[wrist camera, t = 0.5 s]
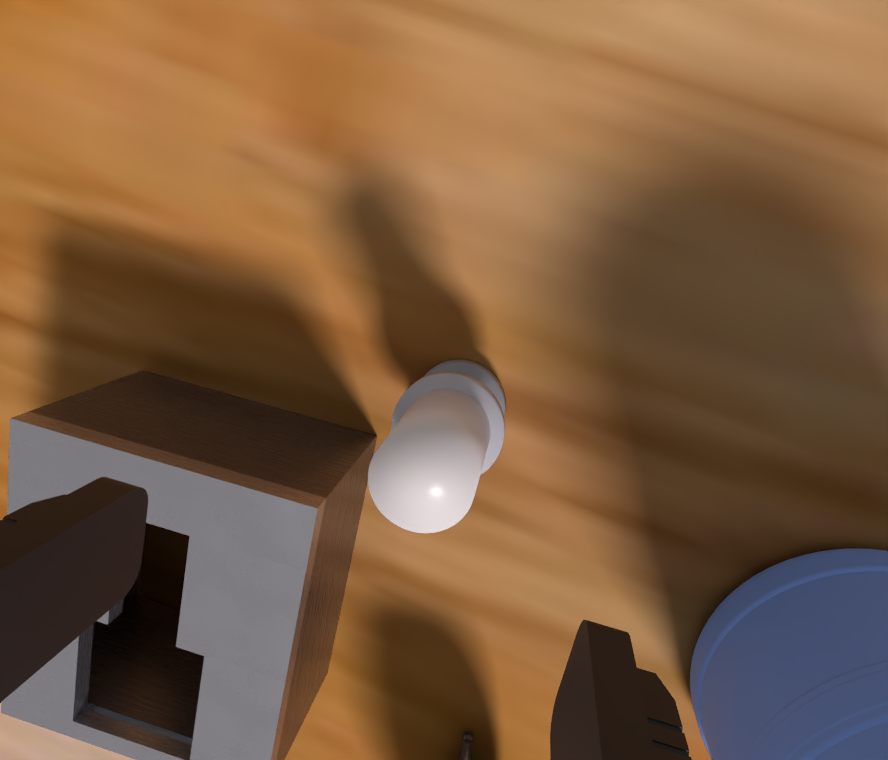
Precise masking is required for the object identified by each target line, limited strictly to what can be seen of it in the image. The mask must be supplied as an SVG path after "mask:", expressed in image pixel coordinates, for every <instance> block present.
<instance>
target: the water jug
mask: <svg viewBox="0 0 888 760" xmlns="http://www.w3.org/2000/svg"><path fill="white" fill-rule="evenodd" d="M690 692H691V699H692V704H693V709H694V712H695V716H696V719H697V723H698V726H699V729H700V733H701V736H702V739H703V741H704V744H705V746H706V748H707V750H708V752H709V754H710V756H711V759H712V760H888V551H886V550H877V549H862V548H849V549H834V550H826V551H820V552H814V553H810V554H805V555H802V556H798V557H795V558H792V559H789V560H786V561H783V562H781V563H778V564H776V565H774V566H771V567H769V568H767V569H765V570H763V571H761V572H760V573H758V574H756V575H755V576H753V577H751V578H750V579H748V580H747V581H745V582H744V583H743V584H741V585H740V586H739V587H737V588H736V589H735V590H734V591H733V592H732V593H730V594H729V595H728V596H727V597H726V598H725V599H724V600H723V601H722V603H721V604H720V605H719V606H718V607H717V608H716V610H715V611H714V612H713V614H712V615H711V616H710V618H709V619H708V621H707V623H706V624H705V626H704V628H703V630H702V632H701V634H700V636H699V638H698V641H697V644H696V646H695V650H694V653H693V657H692V663H691V670H690Z"/></svg>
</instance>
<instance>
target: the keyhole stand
mask: <svg viewBox="0 0 888 760" xmlns="http://www.w3.org/2000/svg"><path fill="white" fill-rule="evenodd" d="M376 438H377V436H376V435H372V434H369V433H365V432H361V431H358V430H354V429H351V428H347V427H343V426H340V425H336V424H333V423H329V422H325V421H322V420H318V419H315V418H311V417H307V416H304V415H300V414H297V413H293V412H289V411H286V410H282V409H279V408H275V407H271V406H268V405H264V404H261V403H257V402H253V401H250V400H246V399H243V398H239V397H235V396H232V395H228V394H225V393H221V392H217V391H214V390H210V389H207V388H203V387H199V386H196V385H192V384H189V383H185V382H181V381H178V380H174V379H171V378H167V377H163V376H160V375H156V374H153V373H149V372H145V371H140V372H137V373H134V374H132V375H129V376H126V377H123V378H121V379H118V380H115V381H112V382H109V383H107V384H104V385H101V386H98V387H96V388H93V389H90V390H87V391H85V392H82V393H79V394H76V395H74V396H71V397H68V398H65V399H62V400H60V401H57V402H54V403H51V404H49V405H46V406H43V407H40V408H38V409H35V410H32V411H29V412H26V413H24V414H21V415H18V416H15V417H13V418H10V442H9V475H8V508H7V515H8V514H10V513H12V512H14V511H16V510H18V509H20V508H22V507H24V506H26V505H28V504H30V503H33V502H37V501H41V500H44V499H48V498H52V497H56V496H60V495H64V494H65V495H68V494H70V493H71V492H73V491H75V490H77V489H79V488H81V487H83V486H85V485H86V484H88V483H90V482H92V481H94V480H96V479H98V478H100V477H108V478H111V479H114V480H118V481H121V482H125V483H128V484H131V485H135V486H138V487H141V488H144V489H145V490H146V492H147V494H148V509H147V517H146V526H147V523H149V524H152V525H155V526H158V527H162V528H165V529H168V530H172V531H175V532H178V533H181V534H185V535H188V536H189V545H188V553H187V561H186V569H185V577H184V585H183V593H182V601H181V609H179V608H176V607H172V606H169V605H166V604H163V603H160V602H157V601H154V600H150V599H147V598H144V597H141V596H139V595H140V585H141V575H142V566H143V556H144V546H145V536H146V526H145V535H144V544H143V552H142V561H141V567H140V571H139V573H138V576H137V578H136V581H135V582H134V584H133V586H132V588H131V589H130V591H129V592H128V593H127V595H126V596H125V597H124V598H123V599H122V600H121V601H119V602H118V603H117V604H116V605H115V606H114V607H112V608H111V609H110V610H109V611H108V612H106V613H105V614H104V615H103V616H102V617H101V618H99V619H98V620H97V621H96V622H95V623H94V624H92V625H91V626H90V627H89V628H88V629H86V630H85V631H84V632H83V633H82V634H81V635H79V636H78V637H77V638H76V639H75V640H74V641H72V642H71V643H70V644H69V645H68V646H66V647H65V648H64V649H63V650H62V651H61V652H59V653H58V654H57V655H56V656H55V657H54V658H52V659H51V660H50V661H49V662H48V663H46V664H45V665H44V666H43V667H42V668H41V669H39V670H38V671H37V672H36V673H35V674H34V675H32V676H31V677H30V678H29V679H28V680H26V681H25V682H24V683H23V684H22V685H21V686H19V687H18V688H17V689H16V690H15V691H14V692H12V693H11V694H10V695H9V696H8V697H6V698H5V699H4V700H3V701H2V705H1V713H3V714H6V715H9V716H12V717H15V718H18V719H20V720H23V721H26V722H29V723H32V724H35V725H38V726H41V727H44V728H46V729H49V730H52V731H55V732H58V733H61V734H64V735H67V736H69V737H72V738H75V739H78V740H81V741H84V742H87V743H90V744H92V745H95V746H98V747H101V748H104V749H107V750H110V751H113V752H116V753H118V754H121V755H124V756H127V757H130V758H133V759H136V760H284V759H285V757H286V755H287V753H288V751H289V749H290V747H291V745H292V743H293V741H294V739H295V737H296V735H297V733H298V731H299V729H300V727H301V725H302V723H303V721H304V719H305V717H306V715H307V713H308V711H309V709H310V707H311V705H312V703H313V701H314V699H315V697H316V695H317V693H318V691H319V689H320V687H321V685H322V683H323V681H324V679H325V677H326V675H327V673H328V668H329V663H330V658H331V653H332V649H333V644H334V639H335V634H336V629H337V625H338V620H339V615H340V610H341V606H342V601H343V596H344V591H345V586H346V582H347V577H348V572H349V567H350V562H351V558H352V553H353V548H354V543H355V538H356V534H357V529H358V524H359V519H360V514H361V510H362V505H363V500H364V495H365V491H366V486H367V481H368V470H369V466H370V462H371V460H372V457H373V452H374V447H375V443H376Z"/></svg>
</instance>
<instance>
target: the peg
mask: <svg viewBox="0 0 888 760" xmlns="http://www.w3.org/2000/svg"><path fill="white" fill-rule="evenodd" d="M505 411H506V398H505V393H504V390H503V388H502V386H501V384H500V382H499V380H498V379H497V378H496V376H495V375H494V374H493V373H492V372H491V371H490V370H488V369H487V368H486V367H484V366H483V365H481V364H479V363H477V362H474V361H470V360H465V359H453V360H448V361H445V362H442V363H440V364H438V365H436V366H434V367H433V368H431V369H430V370H429V371H428V372H427V373H426V374H425V375H424V377H422V378H420V379H419V380H417V381H416V382H415V383H413V384H412V385H411V386H410V387H409V388H408V389H407V391H406V392H405V393H404V394H403V395H402V396H401V398H400V400H399V401H398V403H397V405H396V407H395V410H394V413H393V418H392V431H391V433H390V434H389V435H388V436H387V438H386V439H385V440H384V442H383V443H382V444H381V446H380V447H379V448H378V450H377V451H376V452H375V454H374V456H373V458H372V460H371V462H370V466H369V470H368V486H369V491H370V494H371V497H372V499H373V501H374V503H375V505H376V506H377V508H378V509H379V511H380V512H381V513H382V514H383V515H384V516H385V517H386V518H387V519H388V520H390V521H391V522H392V523H394V524H395V525H397V526H399V527H401V528H403V529H406V530H409V531H413V532H418V533H434V532H439V531H443V530H445V529H448V528H450V527H452V526H453V525H455V524H456V523H458V522H459V521H460V520H461V519H462V518H463V517H464V516H465V515H466V513H467V512H468V510H469V508H470V507H471V505H472V502H473V499H474V495H475V492H476V488H477V485H478V481H479V477H480V475H481V474H483V473H484V472H485V471H486V470H488V469H489V468H490V466H491V465H492V464H493V463H494V462H495V460H496V459H497V457H498V455H499V453H500V450H501V447H502V444H503V439H504V434H505V419H504V416H505Z"/></svg>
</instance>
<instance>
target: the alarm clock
mask: <svg viewBox="0 0 888 760" xmlns="http://www.w3.org/2000/svg"><path fill="white" fill-rule="evenodd" d="M463 741H464V743H463V747H462V750H461V754H460V760H472V755H471V745H470V743H471V742H472V741H473V734H472V733H471V732H470V731H468V732H464V733H463Z"/></svg>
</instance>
